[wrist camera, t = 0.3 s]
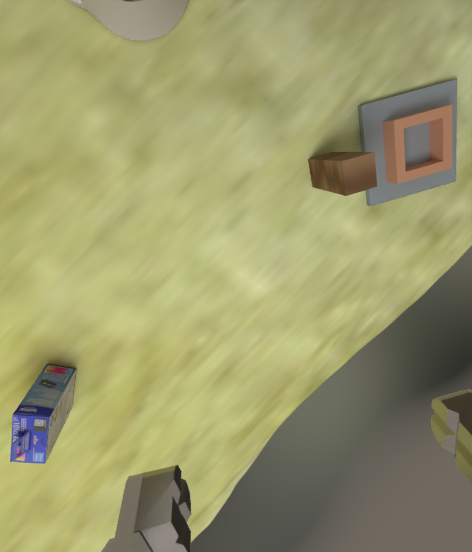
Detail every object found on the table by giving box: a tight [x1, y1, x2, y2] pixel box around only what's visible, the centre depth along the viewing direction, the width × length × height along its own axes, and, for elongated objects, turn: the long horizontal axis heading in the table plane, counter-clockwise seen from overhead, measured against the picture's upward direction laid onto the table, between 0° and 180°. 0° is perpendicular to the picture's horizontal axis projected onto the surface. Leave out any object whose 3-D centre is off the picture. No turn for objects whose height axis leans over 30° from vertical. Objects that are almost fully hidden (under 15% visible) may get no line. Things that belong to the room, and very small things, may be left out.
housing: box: [358, 79, 457, 206], centre depth 53 cm, size 16×16×4 cm
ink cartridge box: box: [10, 364, 76, 464], centre depth 54 cm, size 10×6×14 cm, turn 165°
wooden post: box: [308, 152, 377, 196], centre depth 48 cm, size 4×4×12 cm
